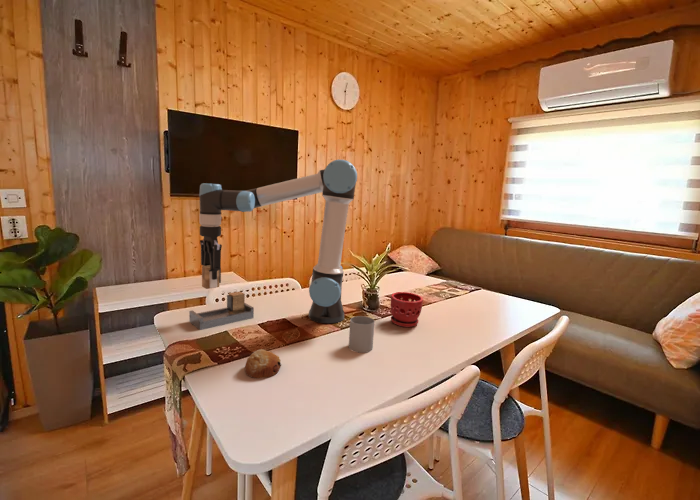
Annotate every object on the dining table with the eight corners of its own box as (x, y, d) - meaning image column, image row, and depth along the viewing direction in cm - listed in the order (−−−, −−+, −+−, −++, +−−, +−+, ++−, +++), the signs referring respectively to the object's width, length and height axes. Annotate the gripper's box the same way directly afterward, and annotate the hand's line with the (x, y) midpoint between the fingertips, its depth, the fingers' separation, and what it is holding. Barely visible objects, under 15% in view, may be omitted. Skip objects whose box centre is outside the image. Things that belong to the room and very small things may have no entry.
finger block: (221, 286, 140) (221, 266, 139) (206, 288, 136) (206, 268, 135) (216, 284, 143) (216, 264, 142) (202, 286, 139) (201, 266, 137)
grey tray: (253, 317, 149) (253, 294, 148) (200, 330, 134) (199, 304, 132) (241, 311, 156) (241, 288, 155) (189, 322, 141) (189, 297, 139)
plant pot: (382, 322, 152) (384, 295, 150) (400, 316, 162) (403, 290, 160) (409, 332, 143) (411, 303, 142) (426, 324, 153) (429, 297, 151)
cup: (370, 354, 122) (372, 326, 120) (346, 350, 124) (348, 322, 122) (374, 344, 130) (375, 317, 128) (351, 341, 132) (353, 314, 130)
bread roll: (254, 373, 113) (243, 351, 111) (285, 360, 113) (274, 338, 111) (248, 390, 103) (236, 366, 101) (282, 376, 103) (270, 352, 102)
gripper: (230, 227, 132) (230, 289, 136) (210, 222, 144) (210, 280, 148) (210, 228, 127) (210, 292, 131) (191, 223, 139) (191, 282, 142)
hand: (210, 285), depth 139 cm, fingers closed on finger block, 4 cm apart
